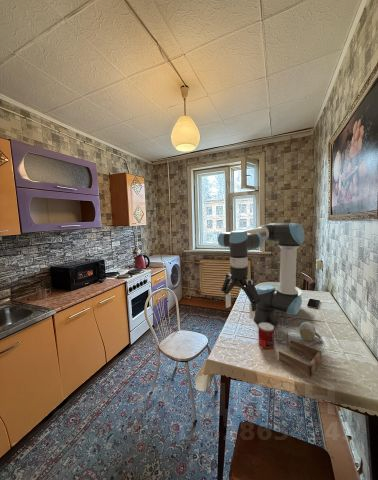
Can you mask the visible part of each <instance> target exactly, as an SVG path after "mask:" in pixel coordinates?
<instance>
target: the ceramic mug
mask: <svg viewBox="0 0 378 480" xmlns="http://www.w3.org/2000/svg"><path fill="white" fill-rule="evenodd" d="M299 328H300V329H299V334H300V337H301V338H302V339H303V340H304V341H308V342H311V341H313V340H314V341H315V342H317V343H321V342H322V340H323V338H322V336H321V335H320V334H319V333H318V332H316V330H317V329H316V327H315V325H314V324H313V323H312V322H309V321H304V322H301V323H300V326H299Z"/></svg>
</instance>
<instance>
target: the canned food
mask: <svg viewBox="0 0 378 480" xmlns="http://www.w3.org/2000/svg"><path fill="white" fill-rule="evenodd" d="M257 333H258V345H259V346H260V348H262V349H265V350H272V349H274V347H275V325H274V326H273V325H271V324H269V323H265V322H262V323H259V324H258V332H257Z"/></svg>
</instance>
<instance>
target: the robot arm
mask: <svg viewBox="0 0 378 480" xmlns="http://www.w3.org/2000/svg"><path fill="white" fill-rule="evenodd" d="M304 241H305V229H304V227H303V226H302V224H301V223H299V222H298V223H297V222H272V223H268V224H267V223H266V224H263V225H262V224H261V225H259V226H257V227H256V228H255V227H254V228H249V229H243V230H233V231H229V232H226V231H225V232H223V231H222V232H220V233H219V234H218V236H217V243H218V245H219V246H220V247H223V248H229V265H230V267H229V270H230V271H229V272H230V273H227V274H225V278H224V281H223V285H222V287H221V290H220V291H221V292H223V293H224V300H225V308H226V309H228V308H230V307H231V306H232V294H231V291H232V289H233V288H234V287H238V288H241V290H242V291H243V292H244V293H245V295H246V297H247V298H248V301H249V302H250V303H249V319H250V320H252V319H253V321H254V322H255V323H256V324H257V325H259V323H262V322H265V323H269V324H271V325H273V326H274V327H275V326H276V325H278V323H279V318H278V316H277V311H275V309H276V310H279V311H282V312H281V313H285V314H287V315H291V316H295V315H297V314H299V311H300V309H301V306H302V303H303V299H302V296H298V291H297V290H296V289H295V287H296V286H297V285H296V284H297V283H296V281H297V253H298V249H299V248H300V247H301V244H303V243H304ZM264 242H273V243H274V242H275V243H277V246H278V247H279V248H280V256H279V257H280V262H279V263H280V265H279V266H280V267H279V283H280V287H279V288H278V289H277V290H275V287H274V286H270V285H264V286H259V287H258V288H257V289H256V288H255V286H256V285H255V280H254V278H253V279H252V278H251V279H249V278H248V274H249V267H248V266H249V263H248V262H249V259H248V256H249V255H248V251H253V250H257V249H259V248H261V247H262V246H263V245H264Z"/></svg>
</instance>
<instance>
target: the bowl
mask: <svg viewBox="0 0 378 480" xmlns="http://www.w3.org/2000/svg"><path fill="white" fill-rule="evenodd" d="M264 285H270V286H274V287H275V290H277V289H278V288H279V287H280V281H266V282H260V283H258V284H256V285H255V288H256V289H257V288H258V287H259V286H264ZM295 289H296V290H297V291H298V296H300V297H302V295H303V291H302V289H301V288H299V287H297V286H295ZM275 312H276V313H278V312H280V313H283V312H282V311H279V310H276V309H275Z"/></svg>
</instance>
